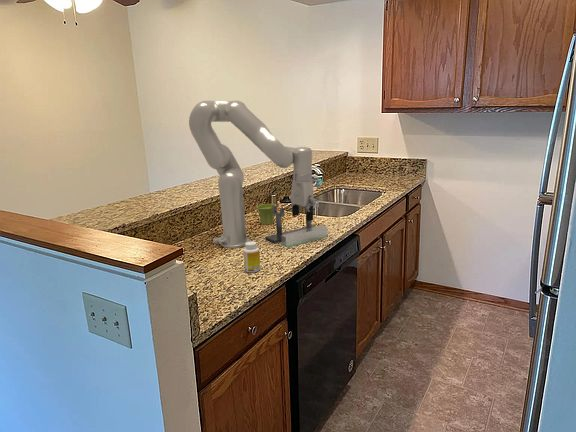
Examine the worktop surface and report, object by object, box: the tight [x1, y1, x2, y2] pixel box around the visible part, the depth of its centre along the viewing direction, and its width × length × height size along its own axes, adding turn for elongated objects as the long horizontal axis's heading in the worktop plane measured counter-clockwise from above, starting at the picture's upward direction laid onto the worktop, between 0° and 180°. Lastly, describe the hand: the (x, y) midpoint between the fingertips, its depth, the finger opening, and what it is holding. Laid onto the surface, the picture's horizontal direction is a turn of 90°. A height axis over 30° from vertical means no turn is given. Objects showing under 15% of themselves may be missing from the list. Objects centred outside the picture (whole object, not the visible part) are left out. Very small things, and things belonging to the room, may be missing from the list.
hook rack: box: [264, 204, 317, 245], centre depth 194 cm, size 26×7×14 cm, turn 125°
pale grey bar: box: [281, 224, 329, 246], centre depth 188 cm, size 22×4×4 cm, turn 125°
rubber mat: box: [279, 235, 328, 248], centre depth 188 cm, size 21×6×1 cm, turn 125°
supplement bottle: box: [242, 240, 261, 274], centre depth 157 cm, size 6×6×10 cm
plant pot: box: [256, 203, 276, 226], centre depth 216 cm, size 9×9×9 cm
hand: (302, 218), depth 186 cm, fingers open, 9 cm apart
